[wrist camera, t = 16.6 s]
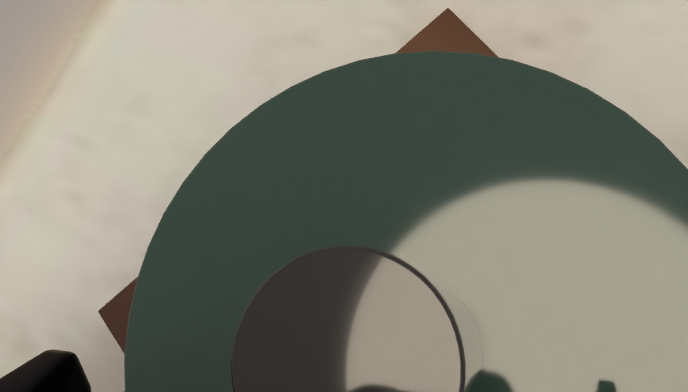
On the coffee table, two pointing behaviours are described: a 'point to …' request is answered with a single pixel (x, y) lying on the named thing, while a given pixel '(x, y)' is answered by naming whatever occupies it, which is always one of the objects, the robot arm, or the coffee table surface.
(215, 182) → the tin lid
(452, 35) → the glossy brown square tile
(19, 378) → the robot arm
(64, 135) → the coffee table surface
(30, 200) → the coffee table surface
